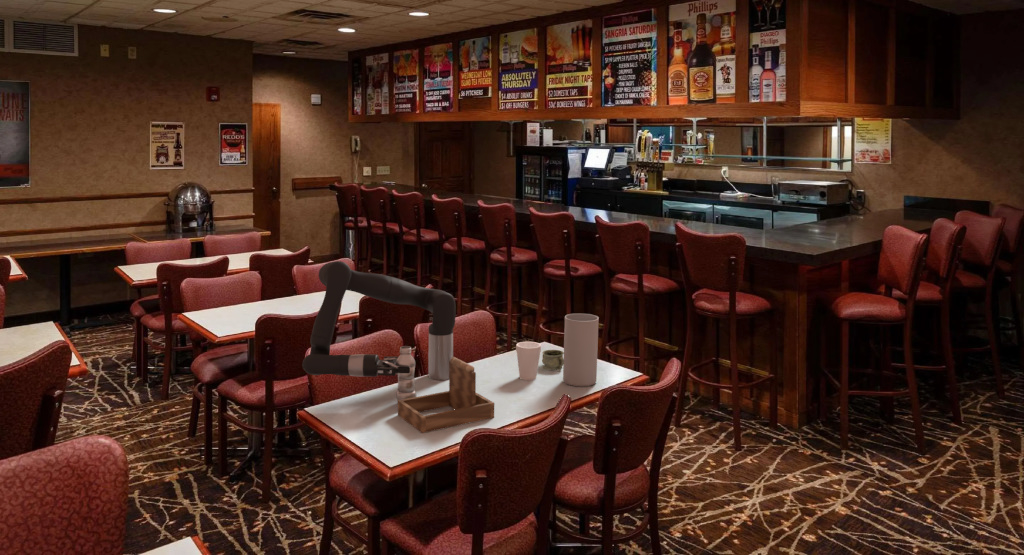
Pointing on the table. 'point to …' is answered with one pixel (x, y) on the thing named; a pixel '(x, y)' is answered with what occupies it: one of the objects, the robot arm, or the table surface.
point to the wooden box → (449, 402)
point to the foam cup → (528, 359)
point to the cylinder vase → (580, 349)
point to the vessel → (553, 359)
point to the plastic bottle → (406, 374)
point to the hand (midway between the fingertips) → (411, 366)
